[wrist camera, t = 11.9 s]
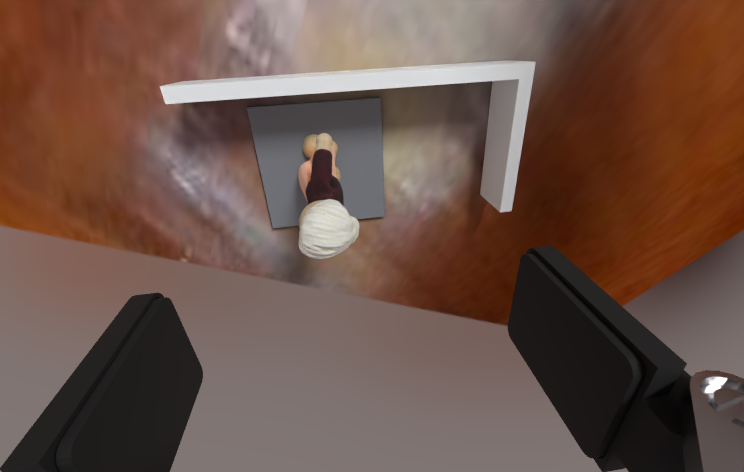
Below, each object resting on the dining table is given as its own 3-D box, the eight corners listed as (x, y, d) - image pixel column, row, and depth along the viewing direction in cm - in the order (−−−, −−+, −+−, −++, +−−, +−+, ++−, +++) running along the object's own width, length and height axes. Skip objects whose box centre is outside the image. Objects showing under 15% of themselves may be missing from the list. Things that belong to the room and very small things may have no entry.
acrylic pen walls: (506, 60, 26) (535, 61, 23) (490, 193, 32) (511, 211, 28) (182, 81, 24) (159, 86, 20) (223, 220, 29) (211, 244, 26)
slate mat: (380, 97, 26) (380, 98, 26) (384, 214, 31) (385, 216, 31) (247, 107, 25) (246, 107, 25) (273, 226, 30) (272, 228, 30)
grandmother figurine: (284, 127, 26) (257, 183, 15) (333, 115, 26) (343, 162, 15) (312, 215, 30) (309, 312, 19) (355, 204, 30) (376, 295, 19)
